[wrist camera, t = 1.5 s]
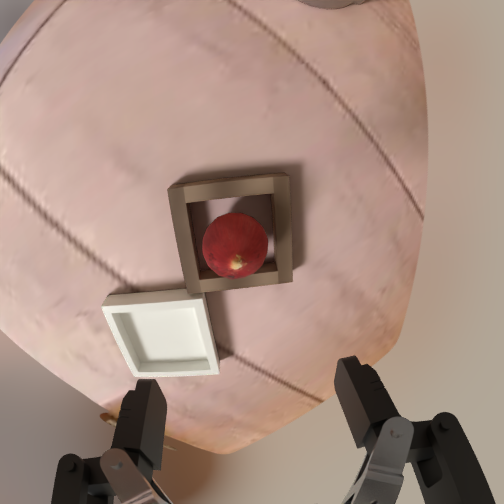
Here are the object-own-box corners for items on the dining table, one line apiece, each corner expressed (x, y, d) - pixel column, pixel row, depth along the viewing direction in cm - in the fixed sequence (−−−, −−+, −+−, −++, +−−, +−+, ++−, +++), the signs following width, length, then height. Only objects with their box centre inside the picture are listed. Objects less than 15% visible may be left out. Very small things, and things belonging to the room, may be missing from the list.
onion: (248, 264, 30) (256, 308, 23) (197, 246, 29) (188, 287, 21) (271, 215, 28) (288, 247, 21) (217, 195, 27) (214, 220, 19)
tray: (203, 286, 31) (202, 298, 28) (219, 360, 36) (219, 373, 33) (107, 295, 30) (101, 306, 28) (137, 364, 35) (134, 376, 33)
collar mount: (284, 172, 26) (289, 175, 24) (288, 272, 31) (292, 281, 29) (171, 185, 26) (167, 189, 24) (189, 284, 30) (187, 293, 28)
